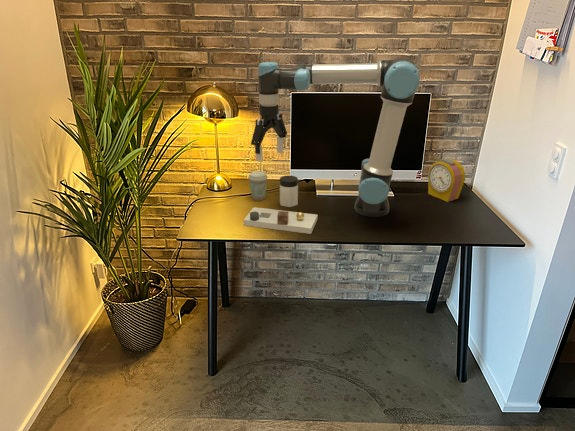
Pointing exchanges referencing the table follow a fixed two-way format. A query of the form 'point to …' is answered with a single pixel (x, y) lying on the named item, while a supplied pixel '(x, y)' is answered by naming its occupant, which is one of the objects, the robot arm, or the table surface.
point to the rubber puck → (254, 216)
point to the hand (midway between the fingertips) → (270, 157)
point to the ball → (300, 216)
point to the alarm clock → (446, 179)
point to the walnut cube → (282, 218)
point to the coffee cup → (258, 184)
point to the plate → (270, 221)
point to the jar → (288, 191)
